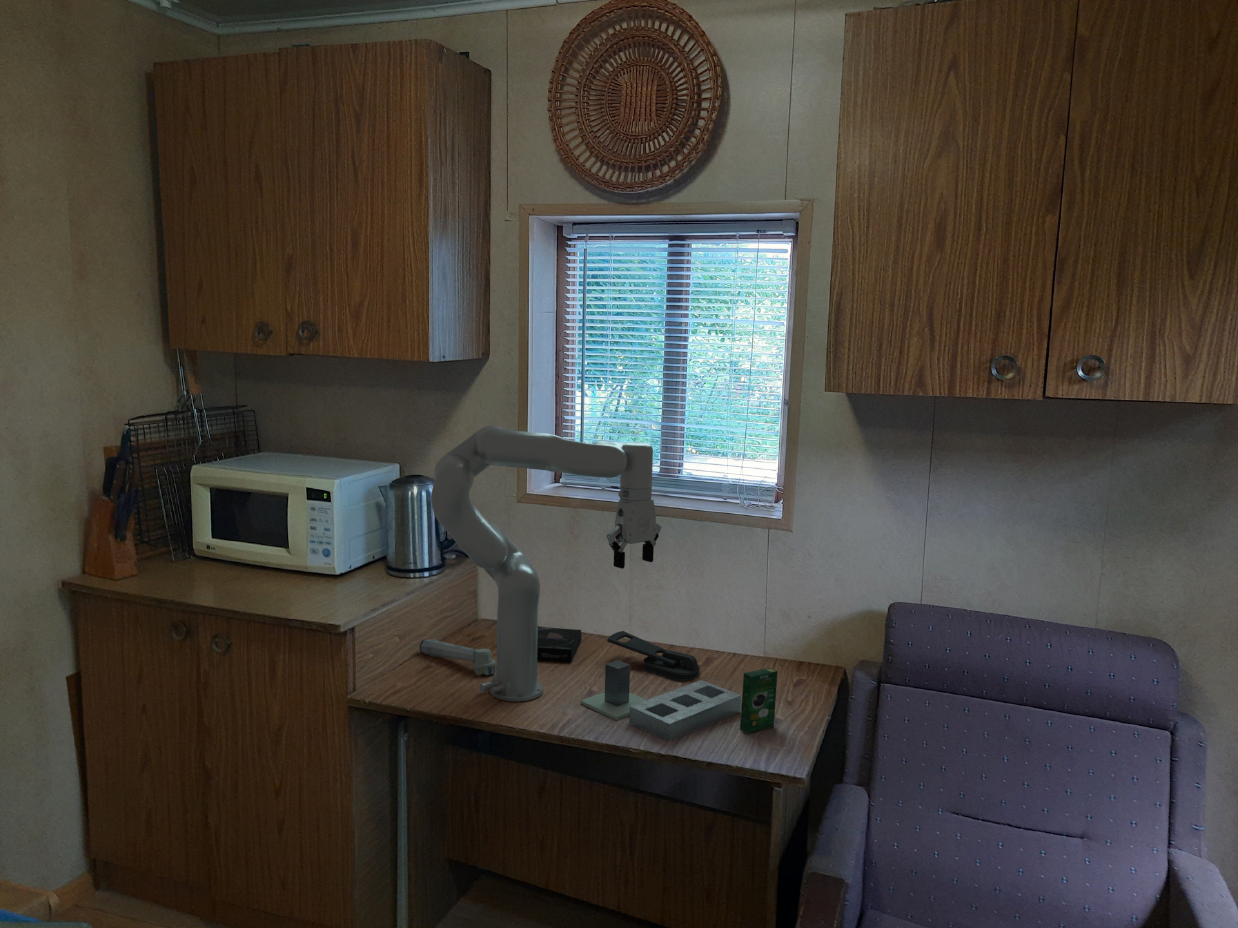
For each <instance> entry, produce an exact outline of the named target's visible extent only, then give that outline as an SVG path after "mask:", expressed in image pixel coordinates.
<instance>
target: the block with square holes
mask: <svg viewBox="0 0 1238 928" xmlns="http://www.w3.org/2000/svg"><path fill="white" fill-rule="evenodd" d="M741 706H742V695H741V694H739V693H736V692H734V691H731V690H729V689H726V688H723V687H721V686H719V685H715V684H713V683H710V682H707V681H704V680H703V679H700V680H698V681H695V682H693V683H689V684H686V685H683V686H681V687H678V688H676V689H672V690H670V691H668V692H665V693H662V694H660V695H656V696H654V697H651V698H648V699H646V700H645V701H643V702H640V703H637V704H635V705H632V706H630V711H629V716H628V717H629V718H628V724H629V725H630V726H631V725H632V726H633V725H634V726H633V727H635V726H636V728H638V729H640V728H642V729H643V731H644V730H646V731H647V733H648V732H650V733H649V734H651V733H652V734H651V735H653V734H654V735H653V736H655V735H656V736H655V737H657V736H658V737H657V738H659V737H661V738H662V739H661V738H660V739H661V740H664V739H665V740H664V741H666V742H668V741H670V742H672V741H674V739H675V740H678V739H680V738H681V737H683V736H687V735H689V734H691V733H694V732H696V731H698V730H701V729H703V728H705V727H708V726H709V725H712V724H714V723H717V722H719V721H722V720H724V719H726V718H729V717H731V716H734V715H736V714H738V713H741ZM642 729H641V730H642ZM646 731H645V732H646Z"/></svg>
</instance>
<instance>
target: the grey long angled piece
mask: <svg viewBox="0 0 1238 928" xmlns="http://www.w3.org/2000/svg"><path fill="white" fill-rule="evenodd" d="M419 652H420V653H421V654H423V655H425V656H426V655H428V656H430V657H432V658H433V657H439V658H446V659H447V658H448V659H453V660H460V661H467V662H471V667H473V671H474V674H475V675H476V676H482V675H485V676H490V675H494V674H496V673H495V672H496V666H497V660H495V659H493V655H492V651H491V649H489V648H479V649H477V648H472V647H468V646H467V647H466V646H463V645H457V644H453V643H450V642H444V641H441V640H438V639H437V638H434V639H427V638H426V639H423V640H421V642H420V644H419Z"/></svg>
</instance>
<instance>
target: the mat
mask: <svg viewBox="0 0 1238 928" xmlns="http://www.w3.org/2000/svg"><path fill="white" fill-rule="evenodd" d="M645 700H647V699H646V698H644V697H641V696H639V695H636V694H634V693H631V692H629V702H628V703H625V704H622V705H620V706H614V705H612V704H609V703H607V702H605V691H604V692H602V693H599V694H596V695H593V696H590V697H587V698H584V699H581V700H580V704H581V705H583V706H585V707H586V708H589V709H591V710H593V711H595V712H597V713H599V714H602V715H603V716H606V717H609V718H610V719H613V720H614V719H615V720H614V721H618V719H619V720H621V719H624V718H627V717H629V711H630V706H632V705H635V704H637V703H640V702H643V701H645Z"/></svg>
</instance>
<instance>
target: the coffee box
mask: <svg viewBox="0 0 1238 928" xmlns="http://www.w3.org/2000/svg"><path fill="white" fill-rule="evenodd" d="M778 674H779V673H778V670H776V669H774V668H771V667H766V668H762V669H758V670H752V671H747V672H743V680H742V681H743V682H742V695H741V706H740V723H739V724H740V725H739V726H740V727H739V729H740V731H741V732H743V733H745V734H750V733H755V732H757V731H761V730H765V729H769V728H771V727H774V726H775V712H776V700H777V687H778V685H777V684H778Z"/></svg>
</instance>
